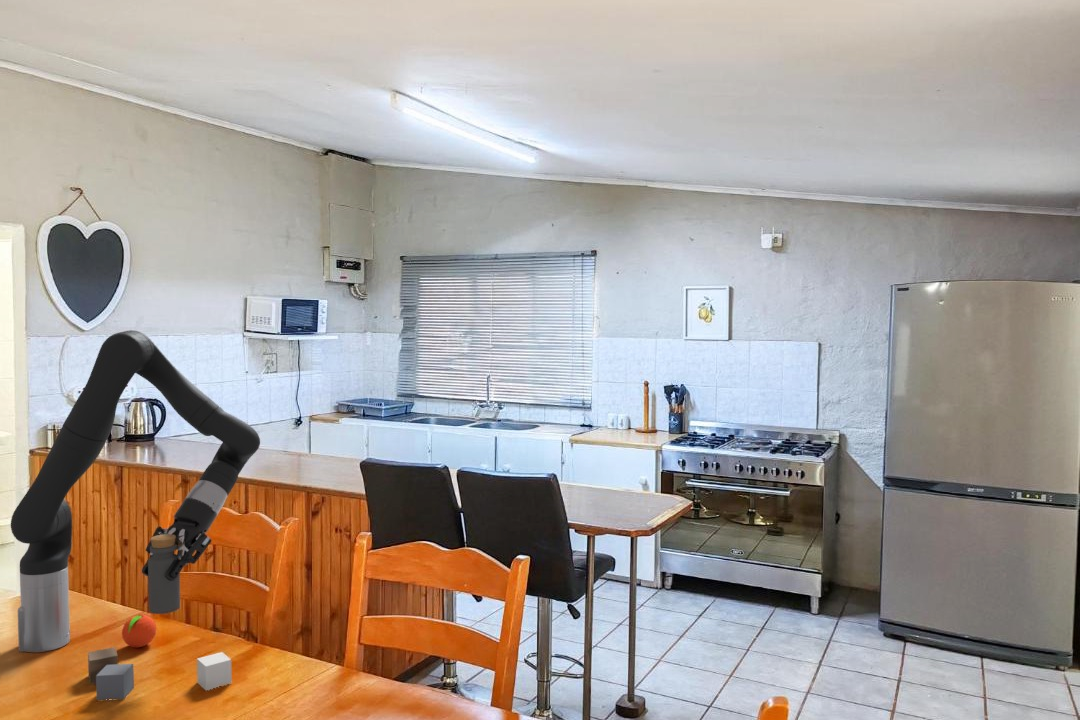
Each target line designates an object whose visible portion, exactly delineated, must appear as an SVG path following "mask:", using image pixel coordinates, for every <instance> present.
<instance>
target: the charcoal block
mask: <svg viewBox="0 0 1080 720" xmlns="http://www.w3.org/2000/svg"><path fill="white" fill-rule="evenodd" d="M134 677H135V674H134V663H120V664H119V663H118V664H115V665H106V666H105V667H104V668H103V669H102V670H101V671H100V672H99V673H98V674H97V675H96V684H95V686H96V687H95V688H96V691H95V692H96V701H97V700H105V701H110V700H109V699H112V700H111V701H114V700H113V699H124V700H125V699H126V698H127V697H128V696H129V695H130V694H131V692H132V691H133V690H134V688H135V683H134V682H135V679H134ZM127 695H128V696H127ZM126 696H127V697H126ZM106 699H107V700H106Z"/></svg>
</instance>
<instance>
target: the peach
mask: <svg viewBox="0 0 1080 720" xmlns="http://www.w3.org/2000/svg"><path fill="white" fill-rule="evenodd" d="M156 633H157V624H156V622H155V621H154V619H153V618H152V617H150V616H148V615H146V614H136V615H134V616H131V617H130V618H129V619H128V620H127V621H126V622H125V623H124V625H123V627H122V630H121V636H122V640H123V641H124V643H125V644H126V645H128V646H129V647H130V648H131V647H132V648H141V647H145V646H147V645H148V644H150V643H151V642H152V641H153V640H154V639H155V635H156Z"/></svg>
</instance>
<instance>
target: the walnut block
mask: <svg viewBox="0 0 1080 720" xmlns="http://www.w3.org/2000/svg"><path fill="white" fill-rule="evenodd" d="M118 659H119V658H118V653H117V648H116V646H114V647H110V648H109V647H108V648H104V649H98V650H93V651H88V652H87V663H88V680H89V685H90V686H92V684H93V685H96V675H97V674H98V673H99V672H100V671H101V670H102V669H103V668H104V667H105V666H106V665H115V664H119V660H118Z"/></svg>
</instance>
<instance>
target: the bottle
mask: <svg viewBox="0 0 1080 720" xmlns="http://www.w3.org/2000/svg"><path fill="white" fill-rule="evenodd" d="M175 538H176V536H175V535H172V534H164V535H157V536H154V537H152V536H151V537H150V540H151V543H152V546H151V547H150V552H151V553H153V556H152V557H151V558H150V559H149V558H148V559H149V560H148V559H147V560H148V576H147V579H148V580H147V583H148V584H147V585H148V612H149V613H150V614H154V615H162V614H169V613H173V612H176V611H178V610H180V608H181V585H180V583H181V578H180V577H181V575H180V574H181V572H180V573H179V575H178V576H177V577H176V578H175V579H174V581H169V580H168V579H167V578H166V577H165V574H166V572H167V571H168V569H169V567H170V566H171V564H172V563H173V561H174V560H177V559H176V557H177V553H176V554H175V552H176V551H178V550H177V544H175Z"/></svg>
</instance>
